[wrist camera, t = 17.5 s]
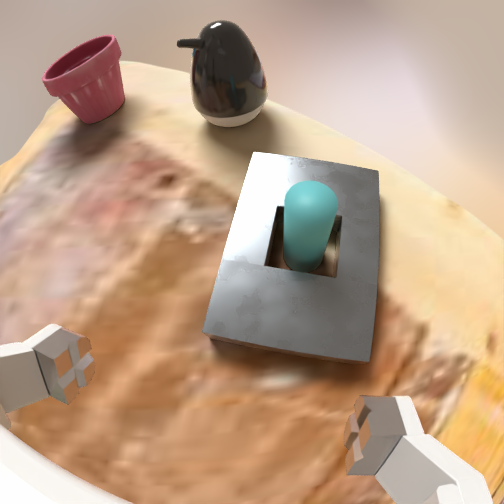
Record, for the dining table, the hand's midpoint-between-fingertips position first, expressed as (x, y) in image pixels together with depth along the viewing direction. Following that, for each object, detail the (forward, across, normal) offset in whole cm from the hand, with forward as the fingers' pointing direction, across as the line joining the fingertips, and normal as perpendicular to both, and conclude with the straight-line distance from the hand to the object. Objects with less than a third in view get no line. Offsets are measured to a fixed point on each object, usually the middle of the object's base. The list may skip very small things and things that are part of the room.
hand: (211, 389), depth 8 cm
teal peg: (+23, -3, +2) cm, 23 cm away
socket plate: (+23, -3, +2) cm, 23 cm away
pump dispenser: (+37, +9, -13) cm, 40 cm away
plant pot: (+40, +35, -16) cm, 55 cm away
